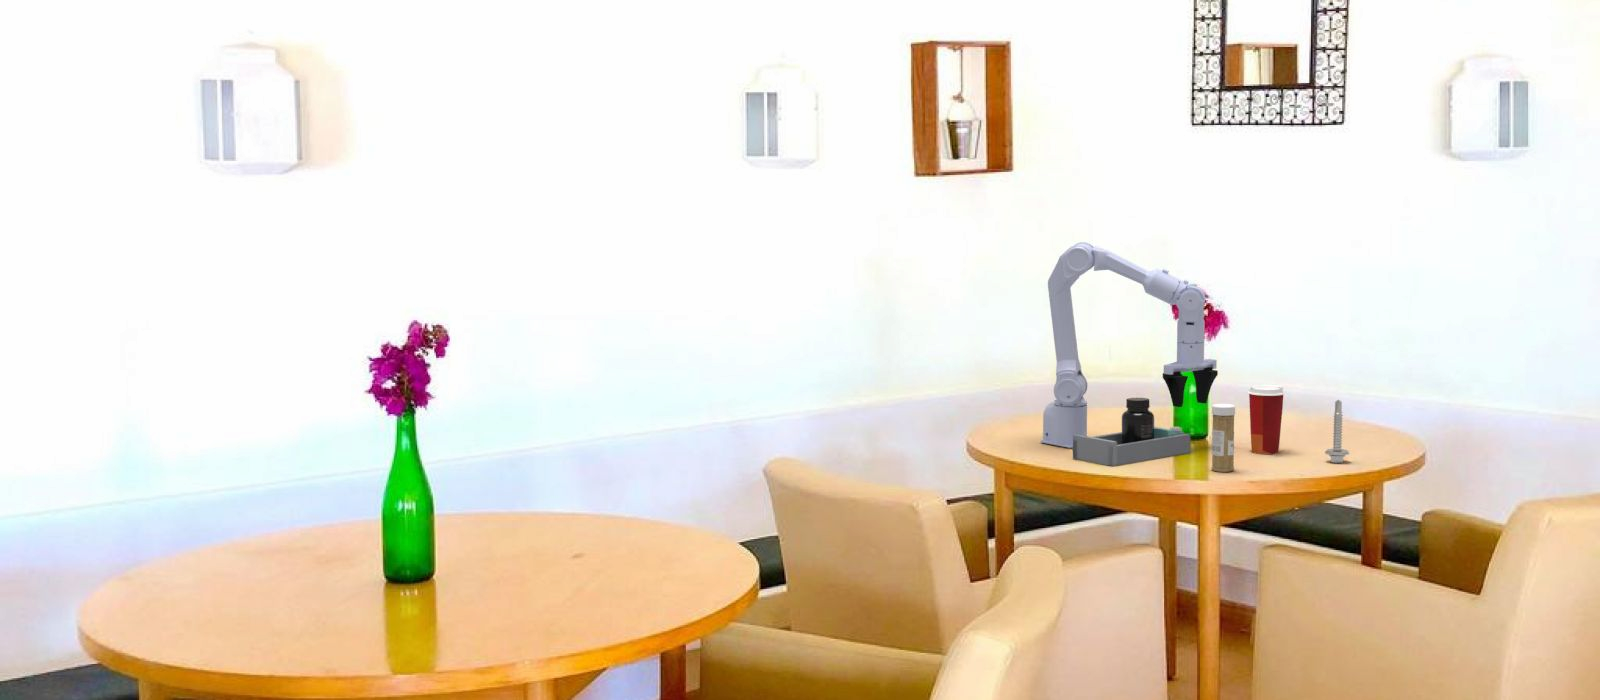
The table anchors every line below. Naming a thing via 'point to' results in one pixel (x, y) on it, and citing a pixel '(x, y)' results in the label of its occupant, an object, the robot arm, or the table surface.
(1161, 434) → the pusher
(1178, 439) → the grey tray
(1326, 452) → the screw
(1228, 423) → the brown spice jar
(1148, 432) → the supplement bottle
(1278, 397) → the paper cup
